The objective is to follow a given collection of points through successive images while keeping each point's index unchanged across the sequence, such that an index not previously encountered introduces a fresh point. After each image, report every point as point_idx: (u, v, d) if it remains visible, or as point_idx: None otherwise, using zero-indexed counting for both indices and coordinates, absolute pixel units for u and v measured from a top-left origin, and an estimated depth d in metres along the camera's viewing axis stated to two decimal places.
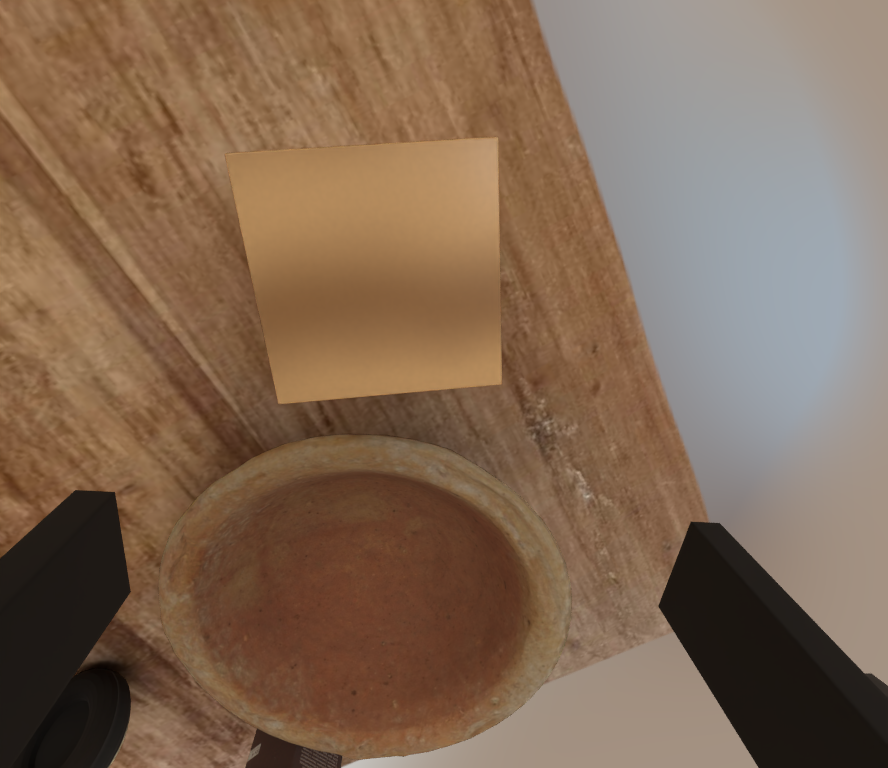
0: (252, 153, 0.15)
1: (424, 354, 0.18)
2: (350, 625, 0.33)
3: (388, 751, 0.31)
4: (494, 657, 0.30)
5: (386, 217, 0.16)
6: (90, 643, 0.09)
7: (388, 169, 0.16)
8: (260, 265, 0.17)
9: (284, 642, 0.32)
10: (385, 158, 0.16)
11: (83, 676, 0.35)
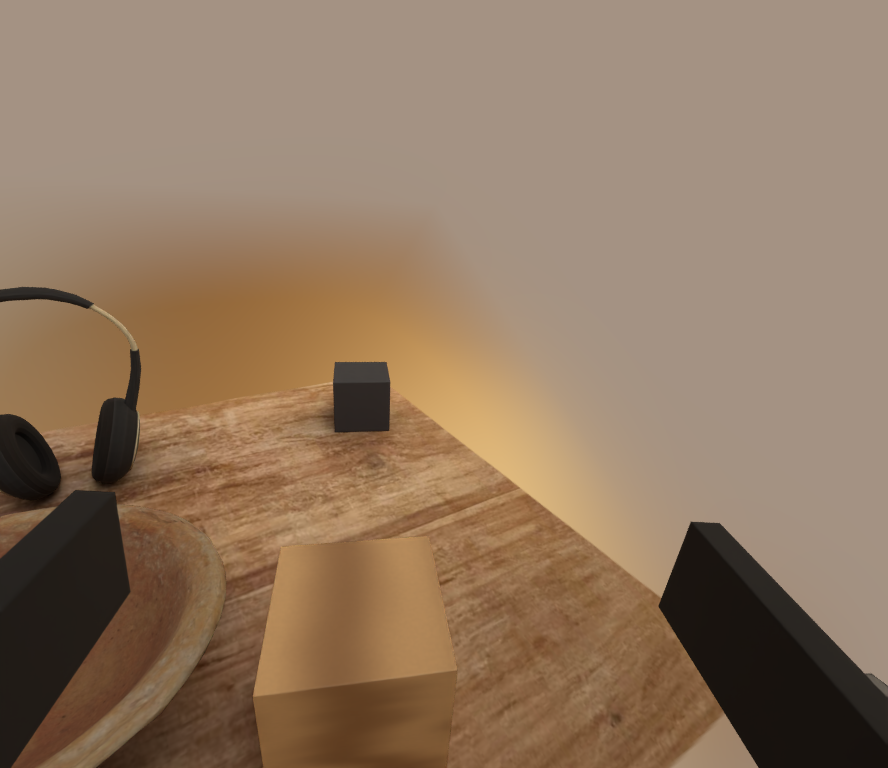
0: (430, 546, 0.29)
1: (297, 630, 0.23)
2: None
3: None
4: None
5: (400, 603, 0.25)
6: (90, 643, 0.09)
7: (428, 604, 0.25)
8: (372, 544, 0.29)
9: None
10: (435, 603, 0.25)
11: (57, 481, 0.46)
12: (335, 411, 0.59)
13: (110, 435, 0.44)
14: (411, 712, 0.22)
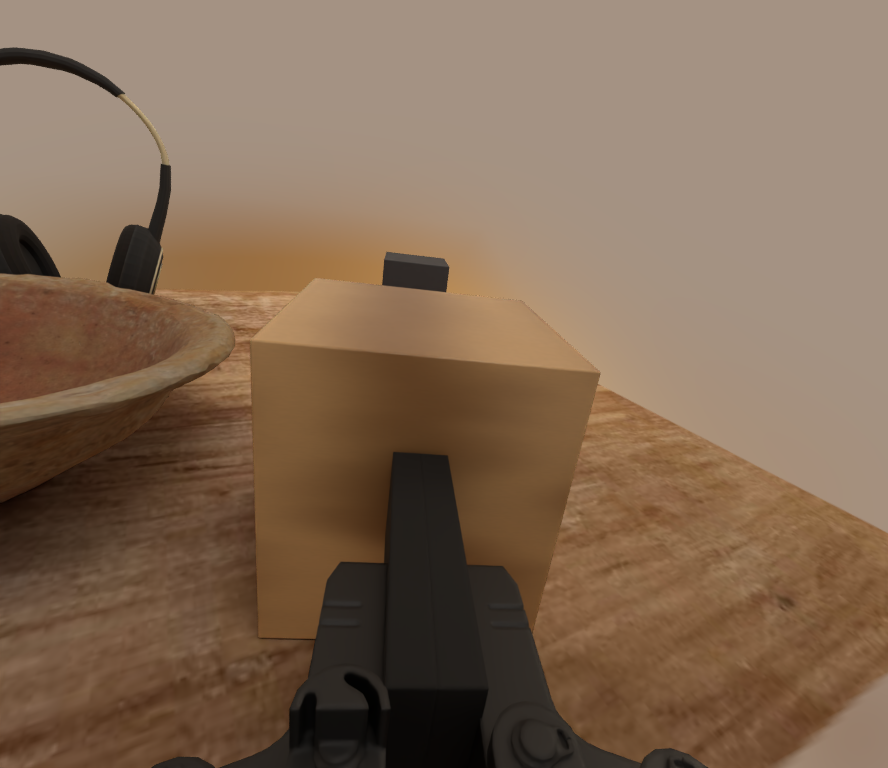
0: (525, 306, 0.20)
1: (332, 315, 0.14)
2: None
3: None
4: None
5: (491, 324, 0.16)
6: None
7: (535, 330, 0.16)
8: (442, 293, 0.20)
9: None
10: (545, 331, 0.16)
11: None
12: None
13: (126, 253, 0.38)
14: (508, 451, 0.13)
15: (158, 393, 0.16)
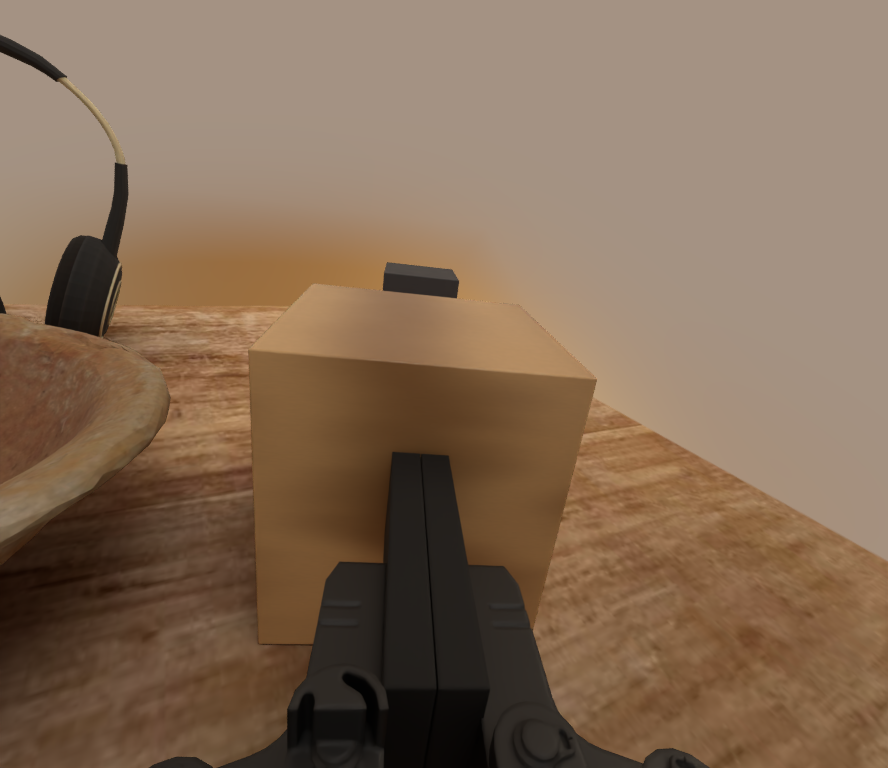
0: (523, 310, 0.20)
1: (330, 322, 0.14)
2: None
3: None
4: None
5: (489, 330, 0.16)
6: None
7: (532, 336, 0.16)
8: (440, 298, 0.20)
9: None
10: (542, 336, 0.16)
11: None
12: None
13: (70, 271, 0.31)
14: (505, 457, 0.13)
15: None
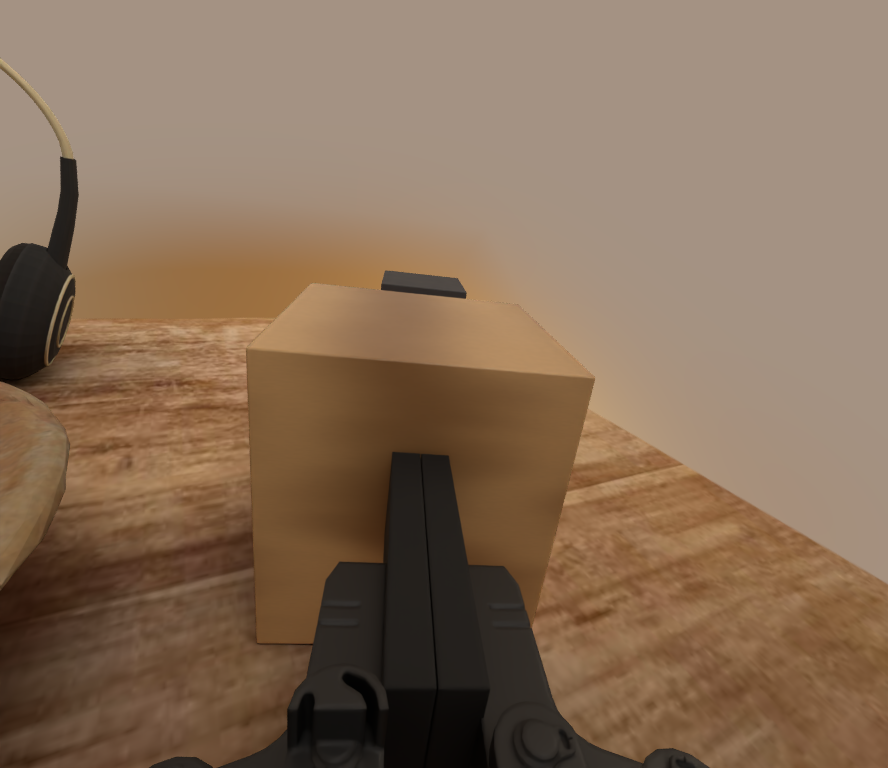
0: (521, 309, 0.20)
1: (328, 321, 0.14)
2: None
3: None
4: None
5: (487, 329, 0.16)
6: None
7: (531, 335, 0.16)
8: (439, 297, 0.20)
9: None
10: (541, 335, 0.16)
11: None
12: None
13: (3, 287, 0.26)
14: (504, 457, 0.13)
15: None
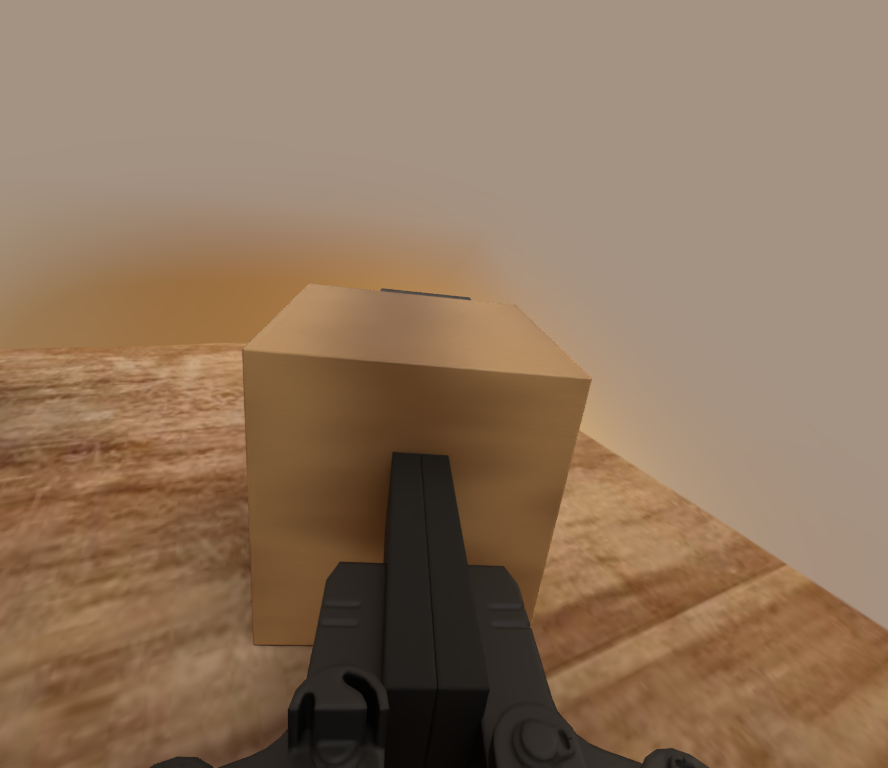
0: (519, 310, 0.20)
1: (325, 322, 0.14)
2: None
3: None
4: None
5: (484, 330, 0.16)
6: None
7: (528, 336, 0.16)
8: (436, 298, 0.20)
9: None
10: (538, 336, 0.16)
11: None
12: None
13: None
14: (500, 457, 0.13)
15: None
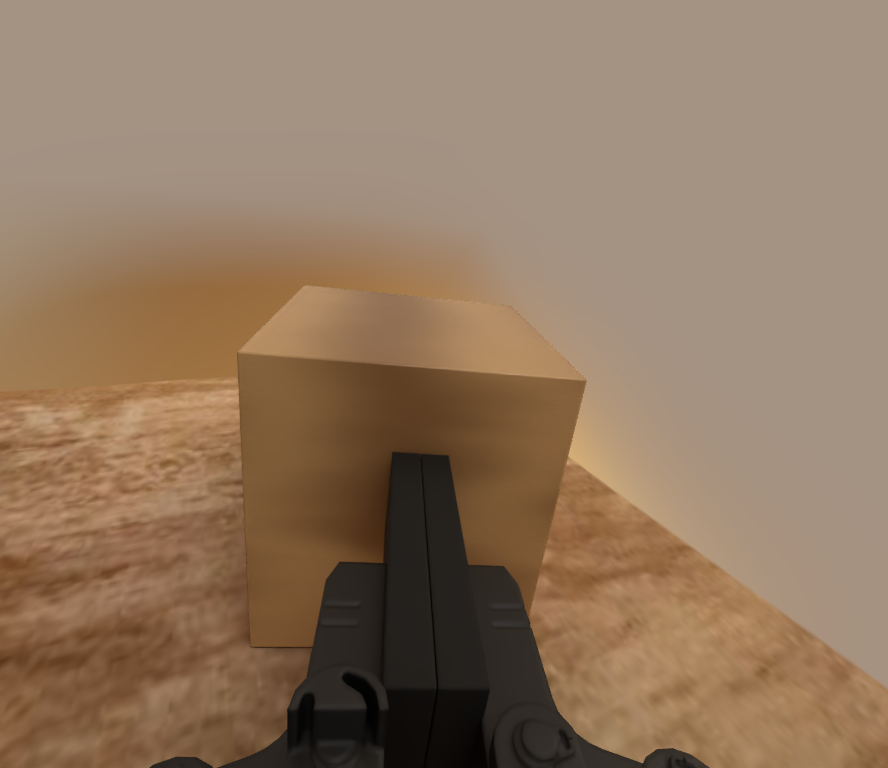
0: (515, 311, 0.20)
1: (320, 324, 0.14)
2: None
3: None
4: None
5: (480, 331, 0.16)
6: None
7: (524, 337, 0.16)
8: (432, 299, 0.20)
9: None
10: (533, 337, 0.16)
11: None
12: None
13: None
14: (496, 459, 0.13)
15: None
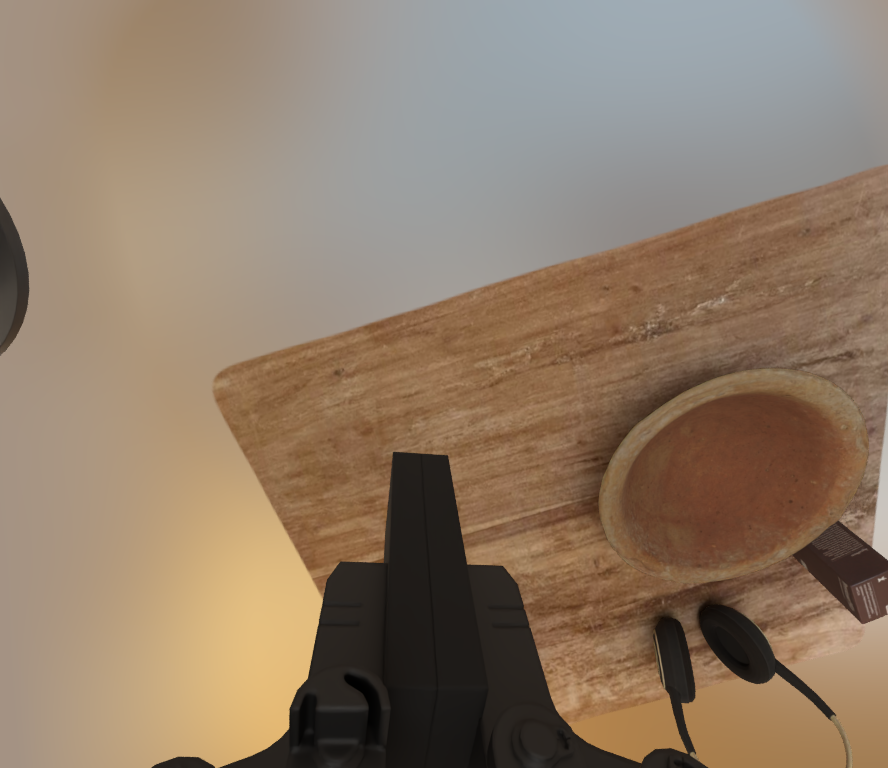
0: None
1: None
2: (742, 484, 0.48)
3: (845, 499, 0.43)
4: (809, 416, 0.41)
5: None
6: None
7: None
8: None
9: (730, 526, 0.48)
10: None
11: (702, 621, 0.57)
12: None
13: (682, 656, 0.51)
14: None
15: (622, 441, 0.40)
